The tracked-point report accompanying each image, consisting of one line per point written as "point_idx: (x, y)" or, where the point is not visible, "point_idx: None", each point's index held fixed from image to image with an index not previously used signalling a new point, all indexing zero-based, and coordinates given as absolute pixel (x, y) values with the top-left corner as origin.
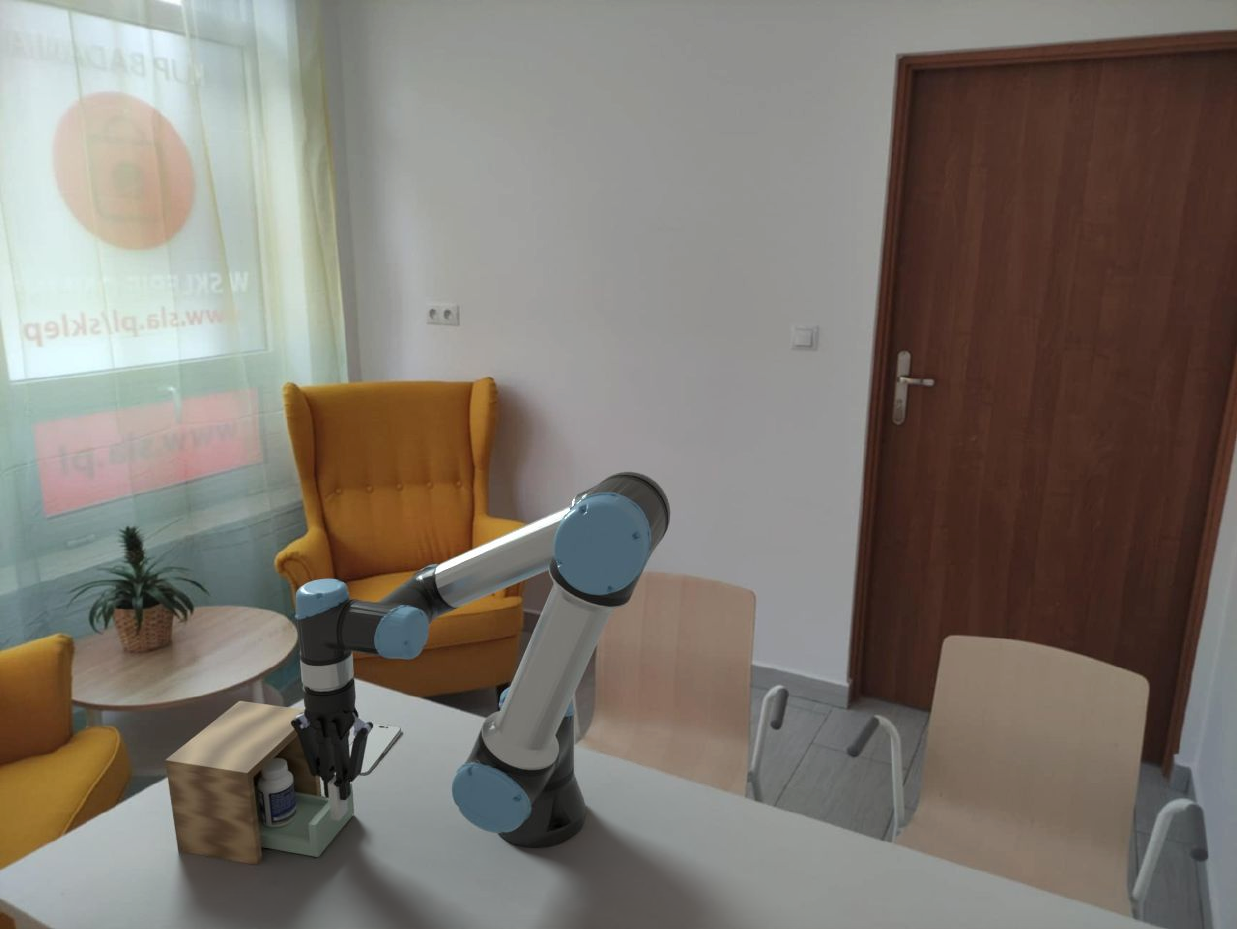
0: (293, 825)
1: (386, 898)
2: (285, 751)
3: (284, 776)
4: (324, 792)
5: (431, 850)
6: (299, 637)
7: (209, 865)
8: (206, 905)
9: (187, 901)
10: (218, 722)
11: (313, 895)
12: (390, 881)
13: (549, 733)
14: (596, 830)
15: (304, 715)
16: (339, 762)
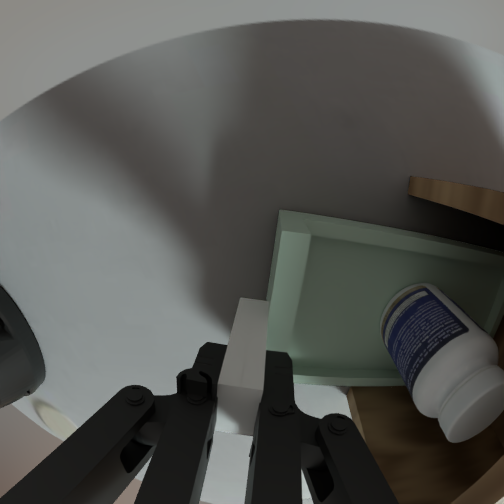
0: (376, 298)
1: (86, 119)
2: (435, 455)
3: (443, 395)
4: (291, 365)
5: (66, 262)
6: None
7: (487, 177)
8: (442, 63)
9: (474, 80)
10: None
11: (235, 88)
12: (93, 164)
13: None
14: None
15: None
16: (159, 480)
